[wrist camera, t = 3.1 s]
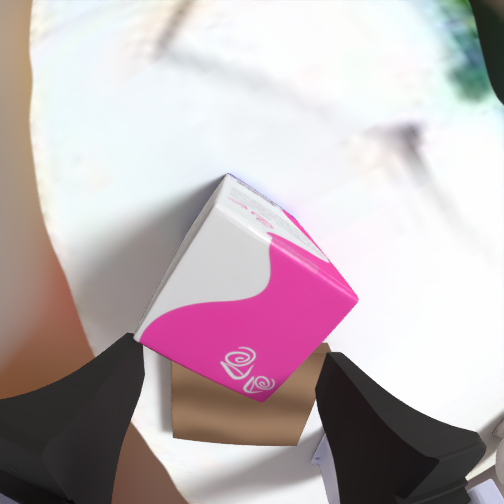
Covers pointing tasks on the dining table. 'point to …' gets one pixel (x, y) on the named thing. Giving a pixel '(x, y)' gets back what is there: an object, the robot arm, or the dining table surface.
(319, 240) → the dining table surface
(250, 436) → the cardboard square
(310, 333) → the supplement box
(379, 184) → the dining table surface
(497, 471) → the ceramic pitcher
